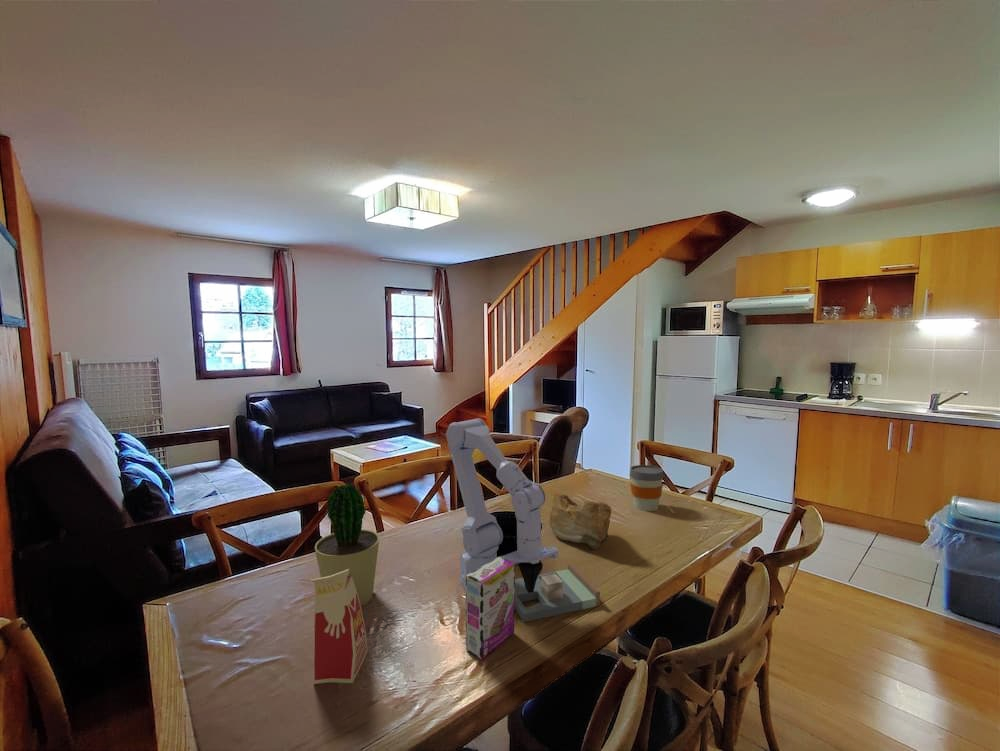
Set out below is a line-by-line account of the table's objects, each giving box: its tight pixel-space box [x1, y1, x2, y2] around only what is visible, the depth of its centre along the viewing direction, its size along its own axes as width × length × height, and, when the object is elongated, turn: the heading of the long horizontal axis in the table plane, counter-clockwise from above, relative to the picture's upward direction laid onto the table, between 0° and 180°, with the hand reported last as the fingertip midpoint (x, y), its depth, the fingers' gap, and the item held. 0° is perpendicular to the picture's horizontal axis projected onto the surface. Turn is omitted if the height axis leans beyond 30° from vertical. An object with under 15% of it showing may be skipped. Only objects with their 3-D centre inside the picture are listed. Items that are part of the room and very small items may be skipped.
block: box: [541, 574, 563, 601], centre depth 110 cm, size 4×4×4 cm
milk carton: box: [310, 569, 369, 685], centre depth 88 cm, size 9×9×20 cm
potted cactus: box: [314, 482, 380, 607], centre depth 112 cm, size 15×15×30 cm
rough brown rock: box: [549, 492, 612, 550], centre depth 146 cm, size 23×17×15 cm
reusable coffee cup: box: [629, 464, 664, 512], centre depth 174 cm, size 13×13×15 cm
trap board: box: [514, 563, 601, 623], centre depth 112 cm, size 20×15×4 cm
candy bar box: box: [465, 556, 516, 660], centre depth 95 cm, size 11×5×16 cm, turn 141°
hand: (529, 590), depth 108 cm, fingers closed
